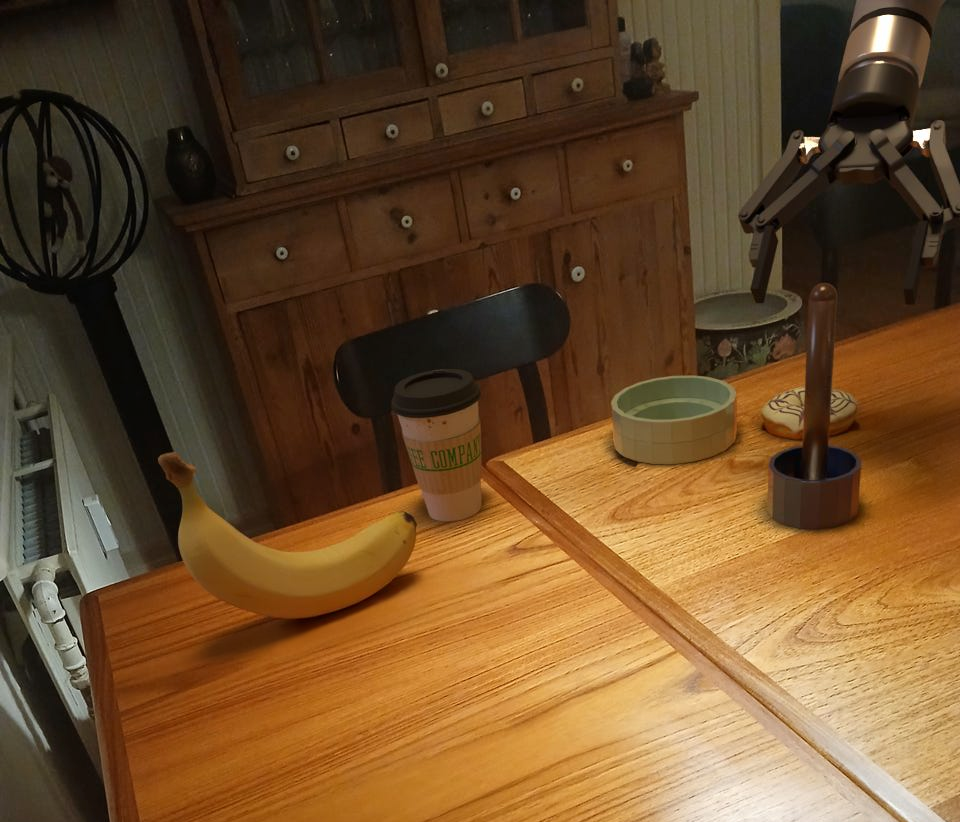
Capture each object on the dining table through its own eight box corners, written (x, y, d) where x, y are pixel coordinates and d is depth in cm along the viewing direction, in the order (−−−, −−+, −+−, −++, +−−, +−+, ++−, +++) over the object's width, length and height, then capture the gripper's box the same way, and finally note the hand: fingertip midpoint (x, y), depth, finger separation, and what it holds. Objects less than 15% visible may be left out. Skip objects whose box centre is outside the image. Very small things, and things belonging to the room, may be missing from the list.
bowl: (743, 421, 122) (743, 374, 119) (727, 471, 111) (726, 421, 108) (628, 421, 127) (625, 376, 124) (602, 469, 116) (598, 422, 113)
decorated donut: (743, 426, 121) (743, 397, 118) (817, 404, 123) (818, 374, 121) (797, 453, 112) (798, 422, 110) (874, 428, 115) (877, 397, 113)
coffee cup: (405, 531, 110) (379, 404, 102) (421, 492, 118) (398, 371, 110) (491, 526, 108) (472, 395, 100) (502, 487, 116) (484, 362, 108)
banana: (414, 560, 104) (376, 378, 93) (436, 582, 100) (400, 393, 89) (208, 636, 97) (140, 449, 86) (222, 663, 93) (153, 469, 82)
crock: (858, 498, 102) (862, 444, 98) (855, 538, 95) (859, 482, 92) (772, 496, 105) (773, 444, 101) (763, 535, 98) (764, 481, 95)
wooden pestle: (839, 499, 100) (854, 273, 88) (837, 522, 97) (852, 290, 84) (788, 498, 102) (796, 277, 90) (784, 520, 98) (791, 293, 86)
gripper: (1025, 102, 90) (979, 318, 88) (754, 123, 102) (708, 314, 100) (1029, 42, 83) (979, 274, 81) (739, 72, 95) (689, 276, 93)
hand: (830, 297), depth 91 cm, fingers open, 13 cm apart
